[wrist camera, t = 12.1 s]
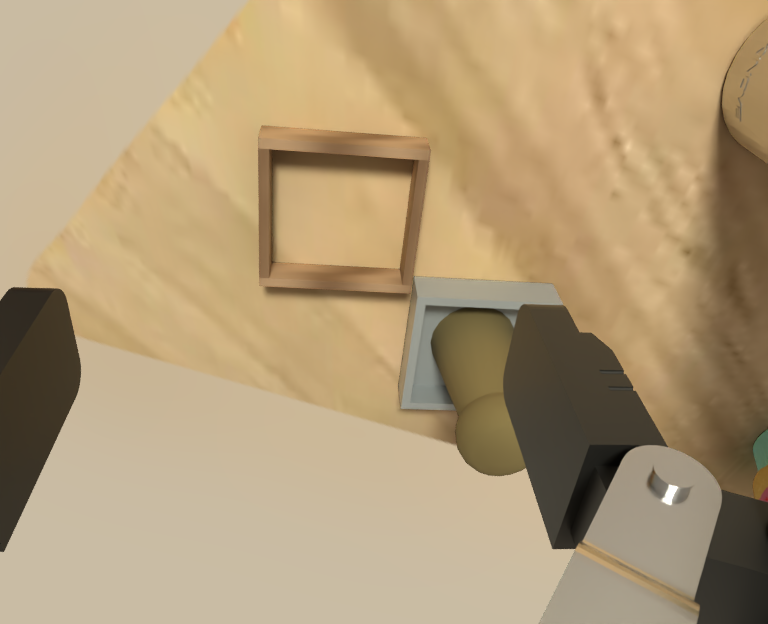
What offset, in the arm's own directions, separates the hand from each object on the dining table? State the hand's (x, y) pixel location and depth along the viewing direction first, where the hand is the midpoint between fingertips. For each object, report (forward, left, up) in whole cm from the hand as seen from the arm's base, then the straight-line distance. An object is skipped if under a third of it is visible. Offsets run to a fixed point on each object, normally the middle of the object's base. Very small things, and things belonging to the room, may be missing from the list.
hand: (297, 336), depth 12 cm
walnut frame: (-2, +11, -28) cm, 30 cm away
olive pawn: (-12, +20, -28) cm, 36 cm away
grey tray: (-12, +20, -28) cm, 37 cm away
